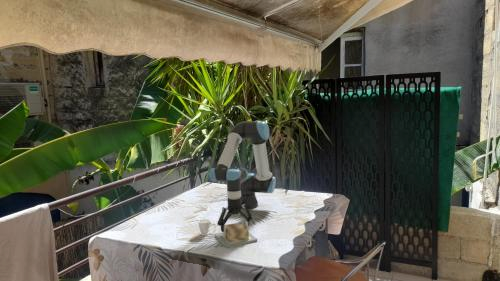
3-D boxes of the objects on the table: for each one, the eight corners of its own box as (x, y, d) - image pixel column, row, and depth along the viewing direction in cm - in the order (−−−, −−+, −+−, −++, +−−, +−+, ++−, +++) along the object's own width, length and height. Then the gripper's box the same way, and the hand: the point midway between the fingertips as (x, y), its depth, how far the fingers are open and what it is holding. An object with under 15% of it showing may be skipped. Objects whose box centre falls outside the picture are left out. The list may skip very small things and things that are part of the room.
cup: (199, 232, 206) (198, 218, 205) (216, 231, 207) (215, 218, 206) (197, 236, 199) (197, 223, 198) (215, 236, 200) (214, 222, 199)
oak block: (241, 230, 203) (241, 222, 203) (248, 239, 191) (248, 230, 190) (223, 233, 200) (222, 225, 199) (229, 242, 187) (229, 233, 187)
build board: (243, 230, 207) (243, 228, 207) (257, 241, 191) (257, 239, 191) (215, 236, 200) (215, 233, 200) (226, 248, 184) (226, 245, 183)
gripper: (251, 192, 201) (253, 227, 204) (210, 199, 191) (212, 236, 194) (257, 195, 194) (258, 232, 197) (215, 202, 184) (216, 241, 187)
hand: (235, 234), depth 195 cm, fingers open, 13 cm apart
